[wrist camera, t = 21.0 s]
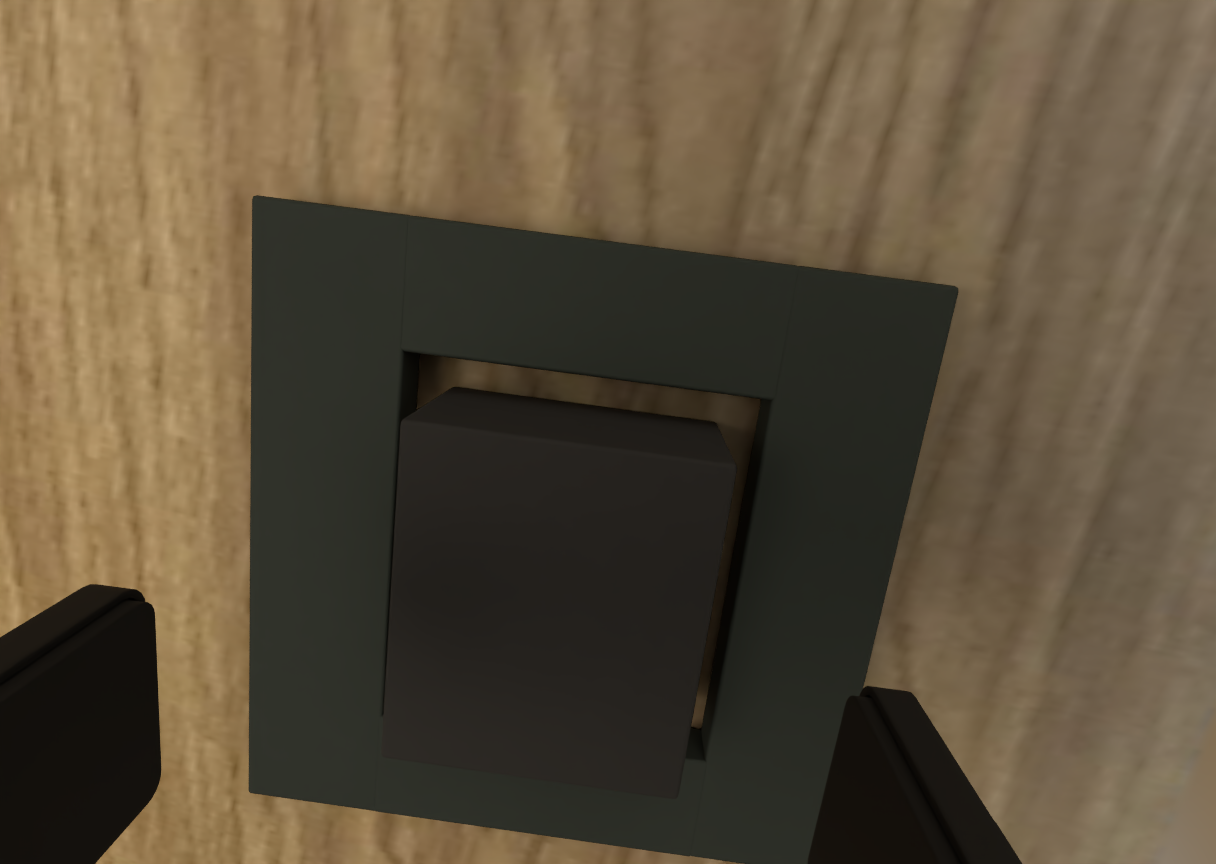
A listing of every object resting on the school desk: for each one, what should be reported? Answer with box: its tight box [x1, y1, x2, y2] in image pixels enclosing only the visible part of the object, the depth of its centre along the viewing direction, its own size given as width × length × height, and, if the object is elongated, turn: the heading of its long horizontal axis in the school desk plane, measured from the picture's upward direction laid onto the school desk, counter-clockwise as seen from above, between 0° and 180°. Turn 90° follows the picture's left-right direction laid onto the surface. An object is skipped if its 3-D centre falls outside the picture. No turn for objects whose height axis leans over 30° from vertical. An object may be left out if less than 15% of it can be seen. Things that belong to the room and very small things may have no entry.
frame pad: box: [249, 195, 958, 864], centre depth 16 cm, size 14×14×1 cm
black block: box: [381, 387, 737, 799], centre depth 15 cm, size 7×6×4 cm
